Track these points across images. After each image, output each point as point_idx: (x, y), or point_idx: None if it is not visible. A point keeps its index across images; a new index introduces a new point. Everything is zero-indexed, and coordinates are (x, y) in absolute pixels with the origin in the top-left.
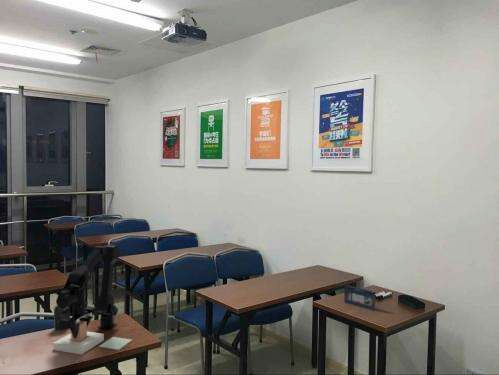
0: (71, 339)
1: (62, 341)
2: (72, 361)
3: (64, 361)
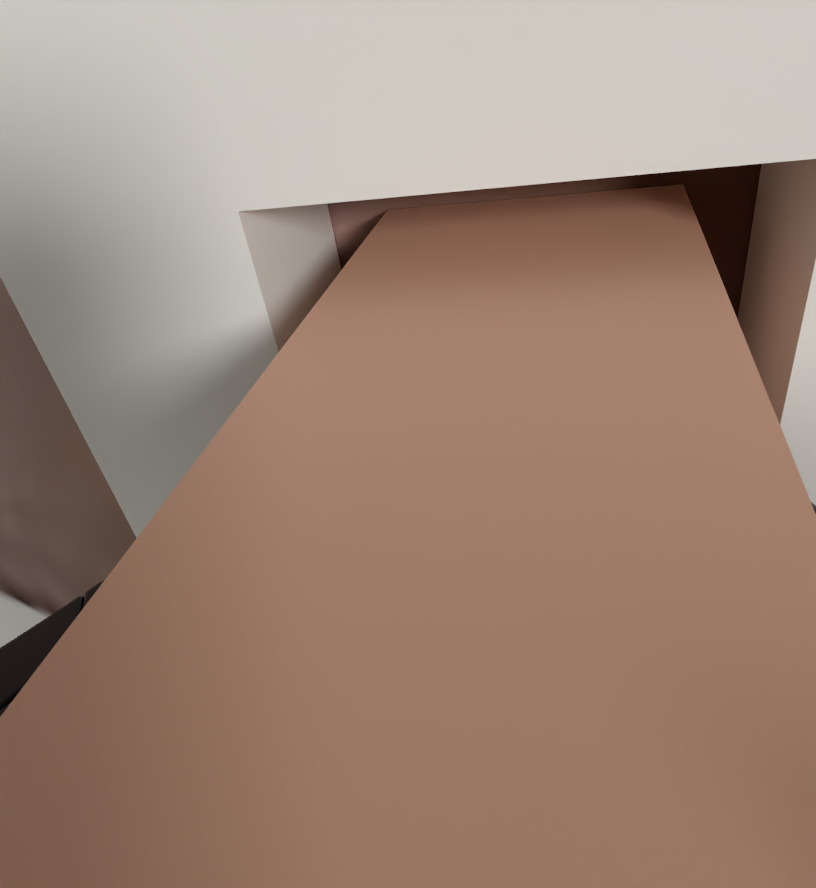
0: (334, 294)
1: (80, 120)
2: (85, 588)
3: (7, 509)
